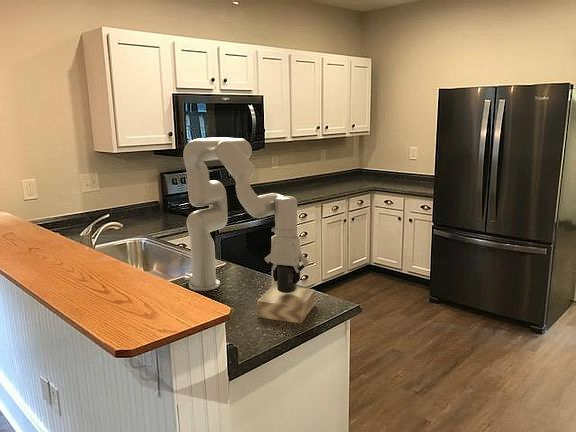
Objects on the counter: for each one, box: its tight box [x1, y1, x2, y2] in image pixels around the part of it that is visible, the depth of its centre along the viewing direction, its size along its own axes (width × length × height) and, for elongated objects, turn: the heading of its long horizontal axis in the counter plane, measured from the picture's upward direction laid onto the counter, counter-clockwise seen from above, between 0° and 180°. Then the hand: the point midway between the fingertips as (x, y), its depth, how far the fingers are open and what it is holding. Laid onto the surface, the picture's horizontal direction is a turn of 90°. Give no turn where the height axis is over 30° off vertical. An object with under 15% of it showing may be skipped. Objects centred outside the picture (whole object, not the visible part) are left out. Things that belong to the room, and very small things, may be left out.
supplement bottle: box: [277, 265, 297, 293], centre depth 162 cm, size 7×7×12 cm
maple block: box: [256, 285, 315, 324], centre depth 165 cm, size 16×16×6 cm
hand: (286, 280), depth 163 cm, fingers closed on supplement bottle, 6 cm apart
